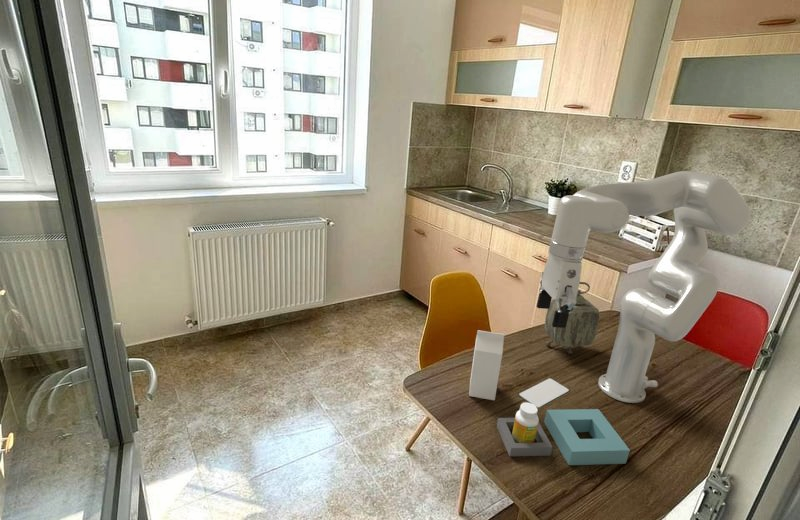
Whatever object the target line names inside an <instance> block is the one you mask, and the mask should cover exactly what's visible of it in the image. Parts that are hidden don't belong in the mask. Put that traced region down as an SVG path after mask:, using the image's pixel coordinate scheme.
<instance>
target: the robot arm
mask: <svg viewBox="0 0 800 520" xmlns="http://www.w3.org/2000/svg"><path fill="white" fill-rule="evenodd" d="M671 210H673V214H674V215H673V216H674V233H673V236H672V239H671V241H670V242H669V243H668V245H667V247H666V248H665V249H664V251H663V253H661V255H660V256H659V258H658V259H657V260H656V262H655V263H654V265H653V266H652V268H651V269H650V271H649V273H648V277H647V279H648V283H650V285H651V286H652V287H653V288H655V289H656V290H658V291H661V292H662V293H665V294H668V295H669V296H672V297H673V298H677V299H678V300H677V301H675V302H674V301H672V300H671V299H668V298H666V297H665V296H664V295H663V296H662V295H660V294H658V293H656V292H654V291H651V290H649V289H646V288H641V287H636V288H631V289H629V290H628V291H627V292H625V294H624V295H623V296H622V299H621V301H620V309H619V310H620V312H619V324H618V329H617V334H616V336H615V339H614V340H615V341H614V343H613V347H612V351H611V354H610V359H609V363H608V366H607V370H606V373H605V374H602V375H600V376H599V378H598V380H597V381H598V382H597V384H598V386H599V388H600V390H601V391H602V392H603V393H605V394H606V395H607V396H609V397H610V398H613V399H614V400H617V401H620V402H623V403H628V404H631V403H632V404H637V403H641V402H643V401H644V400H645V398H646V396H647V395H646V394H647V393H646V390H645V389H648V388H657V387H658V386H659V384H658V383H659V382H657V380H656V379H655V380H649V377H648V376H646V373H647V371H648V367H649V364H650V360H651V358H652V354H653V351H654V348H655V344H656V335H657V336H658V337H660V338H663V339H664V340H666V341H669V342H678V341H680V340H682V339H683V338H685V337H686V335H688V333H690V331H691V330H692V329H693V327H694V326H695V324H696V323H697V322H698V321H699V319H701V317H702V315H703V313H705V311H706V310H707V308H708V307H709V306H710V304H711V303H712V302H713V300H714V299H715V297H716V295H717V292H718V290H719V285H720V284H719V279H718V277H717V275H716V274H715V273H714V272H713V271H710V270H709V269H706V268H703V267H701V266H699V264H700V263H701V262H702V260H703V259H704V258H705V256H706V255H707V252H708V249H709V248H708V246H709V245H708V238H707V234H706V231H705V230H707V231H711V232H714V233H718V234H719V235H720V234H722V235H725V236H731V235H737V234H739V233H741V232H743V230H745V228H746V227H747V226H748V225H749V221H750V218H751V210H750V207H749V205H748V203H747V202H746V201H745V199H744V198H743V196H742V195H741V194H740V193H739V191H738V190H737V189H736V187H734V186H733V185H732V184H731V182H729V181H727V180H726V179H725V178H723V177H721V176H718V175H717V176H716V175H711V174H705V173H700V172H695V171H689V170H681V171H680V170H679V171H676V172H672V173H669V174H665V175H661V176H659V177H655V178H651V179H648V180H644V181H629V182H617V183H616V182H615V183H603V184H598V185H594V186H589V187H586V188H583V189H580V190H578V191H577V192H575V193H573V194H572V195H568V194H567V195H565V196H563V197H561V199H560V200H559V204H558V207H557V212H556V216H555V221H554V225H553V229H552V235H551V239H550V244H549V248H548V253H547V254H548V255H547V259H546V262H545V266H544V270H543V271H542V272H541V275H540V276H541V277H540V278H541V280H540V287H539V294H538V298H537V303H536V308H537V309H545V310H548V309H549V308H550V303H551V301H552V300H553V299H554V300H555V301H556V303H557V311H555V313H554V318H553V322H552V326H553V327H559V328H565V327H566V324H567V320H568V316H569V313H571V311H572V310H573V307H574V306H575V304H576V297H577V293H578V290H579V287H580V284H579V283H580V282H581V277H582V269H583V268H582V263H583V262H582V261H583V258H584V253H585V250H586V246H587V242H588V238H589V235H590V231H595V232H602V233H606V234H607V233H609V234H610V233H615V232H618V231H620V230H622V229H623V228H624V227H626V225H627V224H628V222H629V221H630V216H636V217H637V216H638V217H640V216H641V217H653V216H656V215H659V214H662V213H665V212H669V211H671ZM560 297H566V299H561V298H560ZM561 302H564V303H566V304H565V305H563V306H562V307H561Z"/></svg>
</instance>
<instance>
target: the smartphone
mask: <svg viewBox="0 0 800 520" xmlns="http://www.w3.org/2000/svg"><path fill="white" fill-rule="evenodd" d="M569 391H570V389H569V388H568V387H566V386H565V385H563V384H561V383H559V382H558V381H556V380H554V379H553V378H550V377H548V378H547V379H545V380H543V381H541V382H539V383H537V384H535V385H533V386H531V387H529V388H527V389H526V390H525V389H524V390H523V391H522V392H521V391H520V392H519V393H518V394H517V396H518V397H520V398H521V399H523V400H524V401H525V402H526V403H531V404H533V405H535V406H536V407H537V409H540V408H541V407H543V406H545V405H547V404H549V403H550V402H552V401H554V400H556V399H558V398H560V397H561V396H564V395H565V394H567V393H568V392H569Z"/></svg>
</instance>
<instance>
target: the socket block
mask: <svg viewBox="0 0 800 520" xmlns="http://www.w3.org/2000/svg"><path fill="white" fill-rule="evenodd" d="M543 423H544V424H545V427H546V428H547V430H548V432H549V434H550V435H551V437H552V439H553V440H554V443H555V444H556V446H557V447H558V449H559V451H560V453H561V455H562V457H563V458H564V460H565V461H566V463H567V465H568V466H584V465H585V466H586V465H618V464H619V465H620V464H621V465H622V464H627V461H628V458H629V454H630V451H631V449H630V448H629V446H627V444H626V443H625V441H624V440H623V439H622V437H621V436H620V435H619V433H617V431H616V429H614V428H613V426H612V424H611V423H610V422H609V421H608V419H607V418H606V416H604V415H603V412H602V411H601V410H600V409H599V408H586V409H585V408H582V409H577V408H576V409H546V412H545V417H544V422H543ZM577 433H589V434H590V436H591V437H592V438H580V437H579V436H578V434H577Z"/></svg>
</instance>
